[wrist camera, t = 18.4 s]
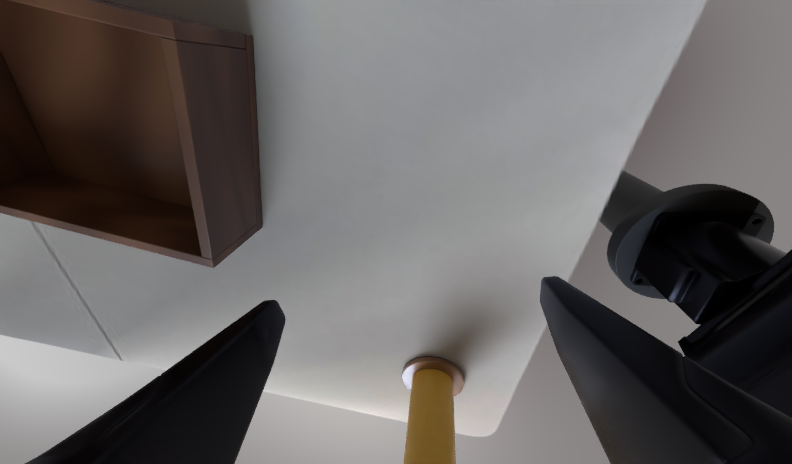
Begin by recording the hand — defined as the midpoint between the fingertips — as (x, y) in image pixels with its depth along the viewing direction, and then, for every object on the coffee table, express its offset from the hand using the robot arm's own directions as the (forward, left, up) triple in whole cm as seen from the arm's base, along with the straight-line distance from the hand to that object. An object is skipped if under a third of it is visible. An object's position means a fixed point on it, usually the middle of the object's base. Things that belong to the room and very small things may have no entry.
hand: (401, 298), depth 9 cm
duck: (-1, +24, -13) cm, 27 cm away
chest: (+22, -5, -13) cm, 26 cm away
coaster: (-1, +24, -13) cm, 27 cm away
